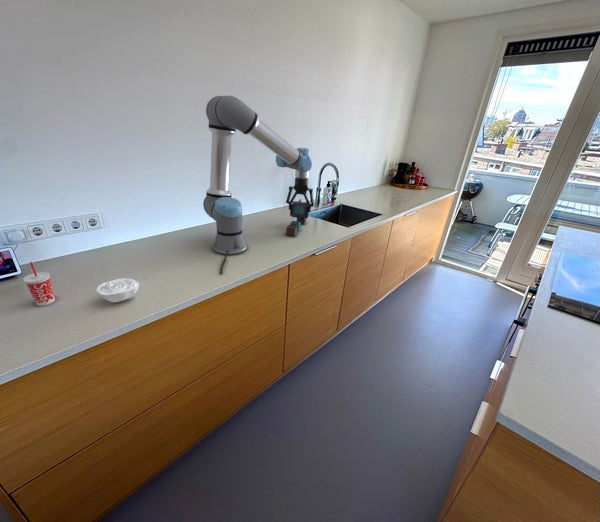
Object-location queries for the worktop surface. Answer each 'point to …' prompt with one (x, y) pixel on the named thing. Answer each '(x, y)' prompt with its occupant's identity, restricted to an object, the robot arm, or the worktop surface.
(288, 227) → the block
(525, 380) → the worktop surface
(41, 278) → the beverage cup
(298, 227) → the block
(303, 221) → the block
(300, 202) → the flask
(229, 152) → the robot arm
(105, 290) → the cell model
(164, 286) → the worktop surface
